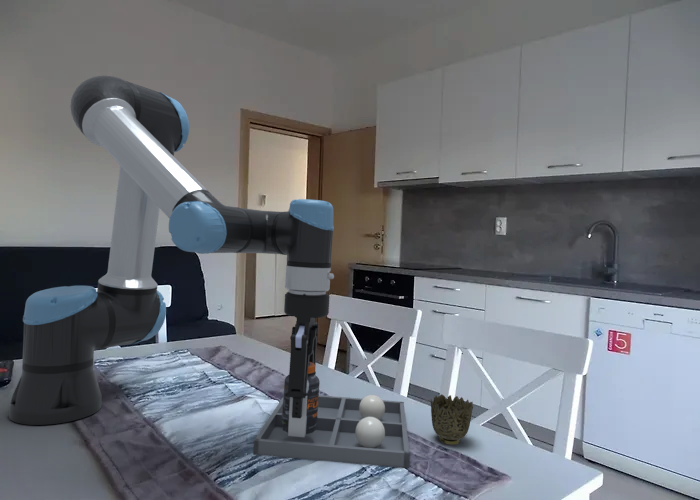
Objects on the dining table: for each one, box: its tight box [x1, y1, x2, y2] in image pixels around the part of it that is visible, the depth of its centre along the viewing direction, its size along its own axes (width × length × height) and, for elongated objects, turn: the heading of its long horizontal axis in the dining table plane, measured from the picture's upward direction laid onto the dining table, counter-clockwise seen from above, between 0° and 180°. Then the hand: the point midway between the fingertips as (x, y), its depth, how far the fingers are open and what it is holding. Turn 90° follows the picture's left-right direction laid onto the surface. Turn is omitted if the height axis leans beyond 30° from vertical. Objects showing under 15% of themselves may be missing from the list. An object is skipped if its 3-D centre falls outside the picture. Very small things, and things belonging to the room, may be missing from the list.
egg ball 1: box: [359, 394, 385, 420], centre depth 93 cm, size 5×5×5 cm
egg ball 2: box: [355, 417, 385, 448], centre depth 81 cm, size 5×5×5 cm
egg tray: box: [252, 394, 411, 469], centre depth 88 cm, size 24×24×3 cm
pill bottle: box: [282, 362, 320, 435], centre depth 82 cm, size 6×6×11 cm
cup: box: [430, 394, 474, 446], centre depth 86 cm, size 8×7×8 cm
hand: (300, 427), depth 82 cm, fingers closed on pill bottle, 6 cm apart
